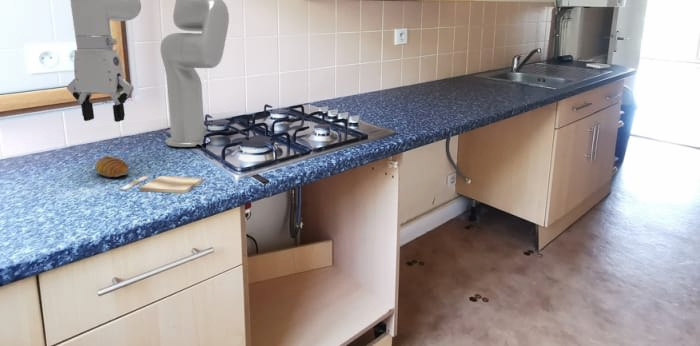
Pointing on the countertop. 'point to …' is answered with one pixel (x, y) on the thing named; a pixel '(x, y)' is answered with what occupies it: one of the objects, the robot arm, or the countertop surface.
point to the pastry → (111, 167)
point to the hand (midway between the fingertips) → (104, 119)
